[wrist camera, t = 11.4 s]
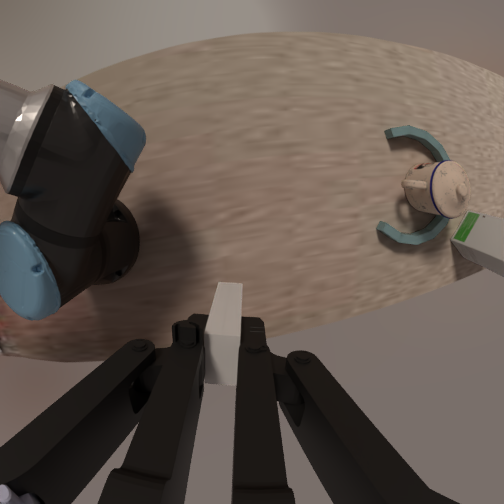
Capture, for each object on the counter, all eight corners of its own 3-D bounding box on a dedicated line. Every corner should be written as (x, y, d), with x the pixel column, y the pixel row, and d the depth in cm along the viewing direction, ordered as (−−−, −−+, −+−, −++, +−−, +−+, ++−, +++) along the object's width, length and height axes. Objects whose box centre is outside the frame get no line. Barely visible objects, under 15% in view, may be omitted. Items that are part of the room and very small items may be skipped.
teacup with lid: (440, 166, 41) (481, 164, 29) (438, 214, 43) (479, 223, 31) (388, 156, 40) (427, 150, 29) (387, 209, 42) (426, 217, 31)
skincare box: (467, 208, 42) (522, 219, 27) (480, 229, 43) (532, 244, 28) (448, 241, 44) (503, 260, 29) (462, 260, 45) (513, 283, 30)
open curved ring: (374, 237, 43) (380, 240, 41) (384, 122, 39) (390, 119, 37) (441, 246, 44) (448, 248, 42) (450, 144, 40) (457, 143, 37)
